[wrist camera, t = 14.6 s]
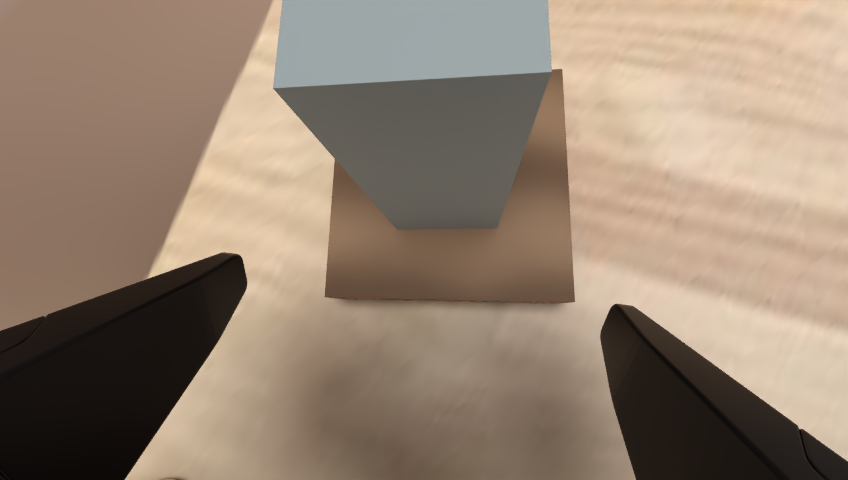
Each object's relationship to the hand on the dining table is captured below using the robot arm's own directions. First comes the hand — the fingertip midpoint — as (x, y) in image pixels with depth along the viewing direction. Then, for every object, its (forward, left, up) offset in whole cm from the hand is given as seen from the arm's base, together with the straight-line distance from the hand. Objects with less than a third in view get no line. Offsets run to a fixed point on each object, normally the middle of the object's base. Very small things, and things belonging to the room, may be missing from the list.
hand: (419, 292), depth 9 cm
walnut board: (+6, -2, -11) cm, 13 cm away
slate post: (+6, -2, -9) cm, 11 cm away
